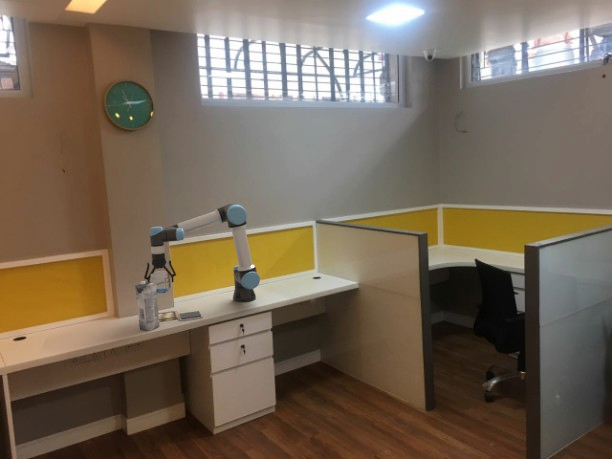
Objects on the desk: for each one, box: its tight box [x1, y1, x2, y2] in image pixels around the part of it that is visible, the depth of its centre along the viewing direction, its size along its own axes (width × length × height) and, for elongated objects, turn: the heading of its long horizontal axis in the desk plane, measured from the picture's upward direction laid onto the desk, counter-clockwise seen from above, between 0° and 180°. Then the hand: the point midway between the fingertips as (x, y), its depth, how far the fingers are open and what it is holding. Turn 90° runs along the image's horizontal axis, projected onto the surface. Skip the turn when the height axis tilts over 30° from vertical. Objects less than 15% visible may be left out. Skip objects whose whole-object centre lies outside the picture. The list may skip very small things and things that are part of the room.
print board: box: [158, 310, 180, 323], centre depth 321 cm, size 16×15×1 cm
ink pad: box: [177, 310, 203, 322], centre depth 320 cm, size 13×12×1 cm
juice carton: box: [134, 280, 160, 332], centre depth 300 cm, size 9×10×27 cm
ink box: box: [150, 270, 172, 294], centre depth 318 cm, size 9×8×12 cm
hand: (161, 289), depth 319 cm, fingers closed on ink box, 11 cm apart
